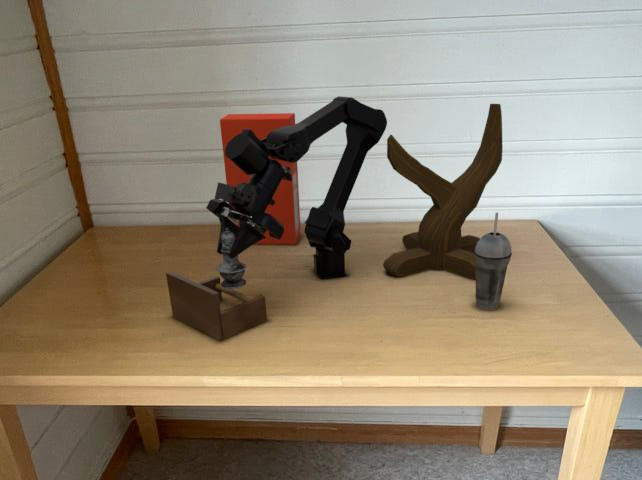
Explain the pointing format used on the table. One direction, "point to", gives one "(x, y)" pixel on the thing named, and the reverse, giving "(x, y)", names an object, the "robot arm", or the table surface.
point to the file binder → (262, 126)
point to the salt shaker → (230, 264)
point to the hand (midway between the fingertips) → (224, 255)
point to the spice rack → (213, 307)
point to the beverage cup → (491, 268)
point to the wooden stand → (446, 207)
